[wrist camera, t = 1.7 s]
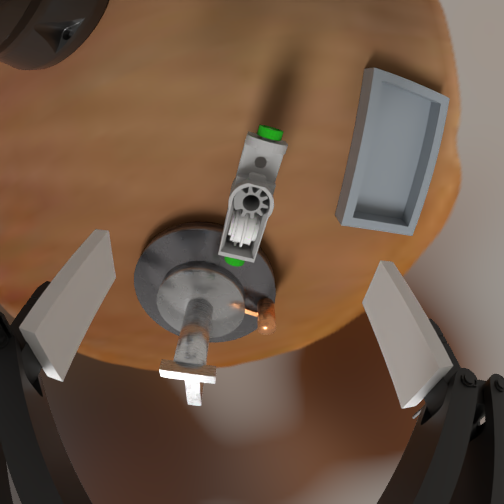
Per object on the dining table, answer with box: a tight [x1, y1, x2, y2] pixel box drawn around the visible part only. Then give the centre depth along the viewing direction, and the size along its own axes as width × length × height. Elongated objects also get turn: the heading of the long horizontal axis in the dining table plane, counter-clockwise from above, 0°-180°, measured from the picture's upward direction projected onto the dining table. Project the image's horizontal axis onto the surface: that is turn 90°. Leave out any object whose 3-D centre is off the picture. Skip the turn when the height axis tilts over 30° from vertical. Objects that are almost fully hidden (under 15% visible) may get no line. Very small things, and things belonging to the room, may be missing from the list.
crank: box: [157, 261, 245, 406], centre depth 29 cm, size 15×10×11 cm, turn 173°
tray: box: [335, 68, 449, 236], centre depth 25 cm, size 16×9×2 cm, turn 173°
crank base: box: [134, 222, 276, 342], centre depth 32 cm, size 17×17×6 cm
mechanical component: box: [218, 125, 288, 267], centre depth 23 cm, size 3×10×10 cm, turn 165°
